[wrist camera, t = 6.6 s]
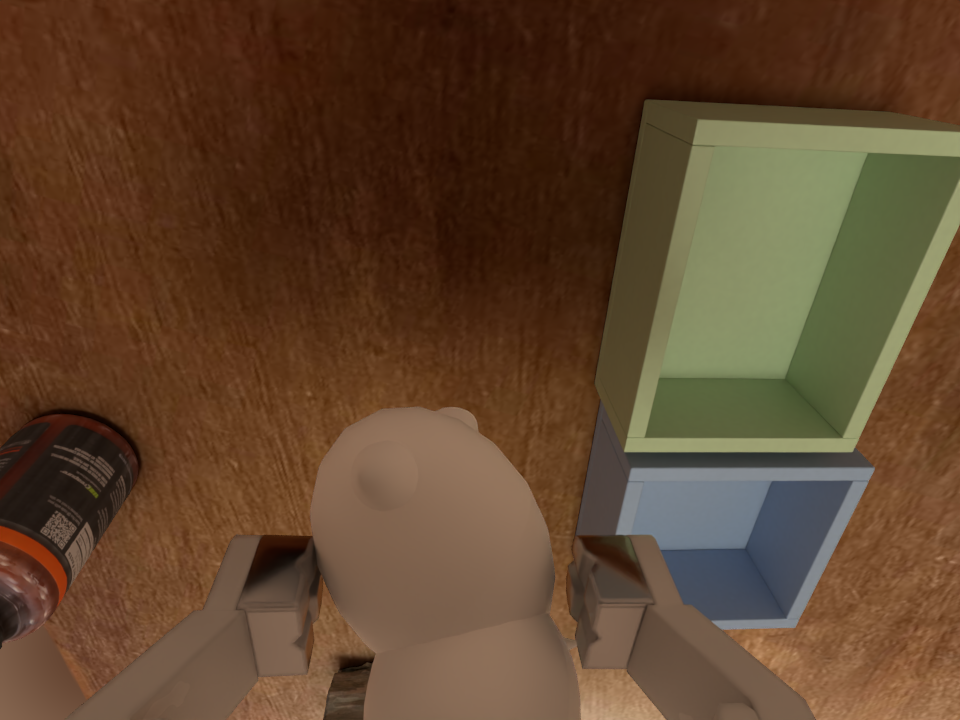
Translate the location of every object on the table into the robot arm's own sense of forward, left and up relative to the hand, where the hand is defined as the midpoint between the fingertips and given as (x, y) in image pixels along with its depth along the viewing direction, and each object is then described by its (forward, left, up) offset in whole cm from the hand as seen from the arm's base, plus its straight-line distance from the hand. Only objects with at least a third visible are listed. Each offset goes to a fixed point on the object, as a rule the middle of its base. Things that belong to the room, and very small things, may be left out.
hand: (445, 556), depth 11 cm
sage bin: (0, +13, -17) cm, 22 cm away
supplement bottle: (+12, -18, -17) cm, 28 cm away
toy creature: (0, 0, -2) cm, 2 cm away
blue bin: (+14, +14, -17) cm, 26 cm away
